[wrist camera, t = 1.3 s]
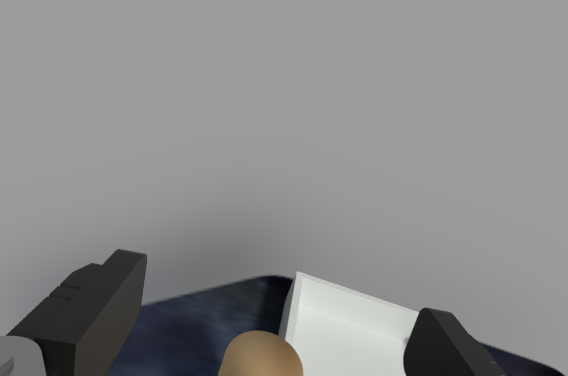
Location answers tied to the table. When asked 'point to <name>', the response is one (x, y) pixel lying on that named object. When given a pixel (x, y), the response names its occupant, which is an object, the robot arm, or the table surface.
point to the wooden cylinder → (260, 356)
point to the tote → (344, 330)
